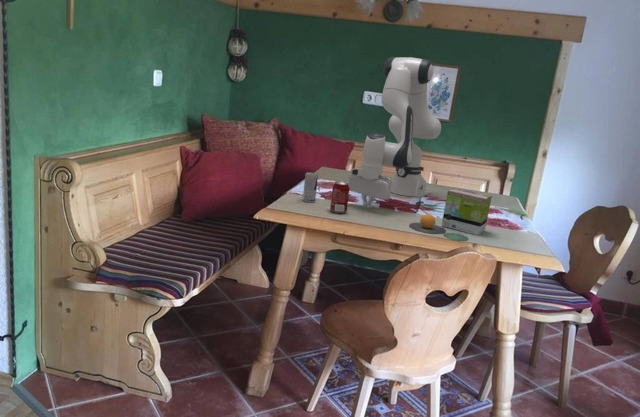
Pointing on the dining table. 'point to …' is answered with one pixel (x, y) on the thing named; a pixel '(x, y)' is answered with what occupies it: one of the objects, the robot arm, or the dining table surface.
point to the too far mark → (456, 236)
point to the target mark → (433, 230)
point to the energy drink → (310, 187)
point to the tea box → (466, 211)
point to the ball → (427, 221)
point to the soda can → (339, 197)
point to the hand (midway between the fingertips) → (366, 205)
